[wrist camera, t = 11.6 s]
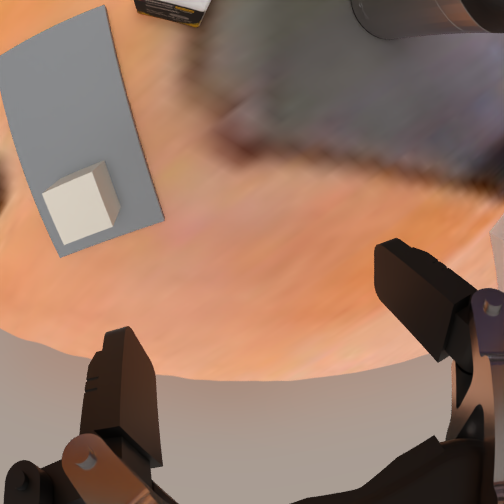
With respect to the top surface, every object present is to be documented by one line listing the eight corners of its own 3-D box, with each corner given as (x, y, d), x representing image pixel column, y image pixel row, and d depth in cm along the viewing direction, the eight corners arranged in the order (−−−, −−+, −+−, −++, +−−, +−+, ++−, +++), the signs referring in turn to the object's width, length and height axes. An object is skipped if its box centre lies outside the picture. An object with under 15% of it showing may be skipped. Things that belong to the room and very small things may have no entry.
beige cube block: (104, 160, 30) (92, 171, 25) (120, 206, 33) (112, 226, 28) (60, 178, 30) (41, 193, 25) (78, 223, 32) (64, 245, 27)
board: (106, 7, 24) (95, -10, 18) (164, 217, 36) (164, 238, 31) (-1, 60, 22) (-27, 56, 17) (62, 253, 35) (48, 278, 29)
